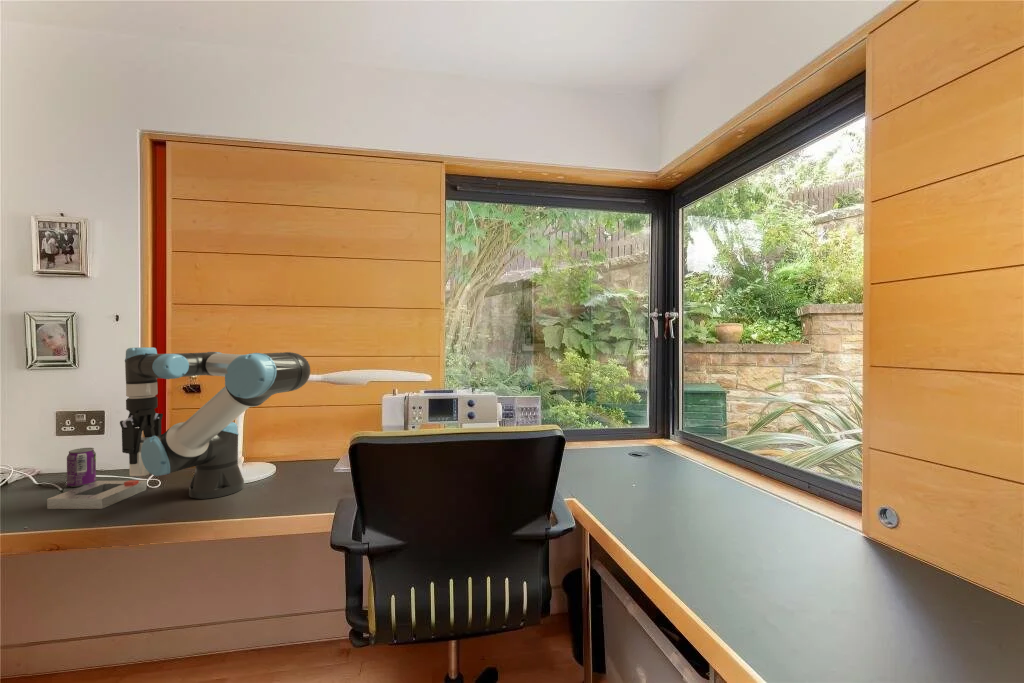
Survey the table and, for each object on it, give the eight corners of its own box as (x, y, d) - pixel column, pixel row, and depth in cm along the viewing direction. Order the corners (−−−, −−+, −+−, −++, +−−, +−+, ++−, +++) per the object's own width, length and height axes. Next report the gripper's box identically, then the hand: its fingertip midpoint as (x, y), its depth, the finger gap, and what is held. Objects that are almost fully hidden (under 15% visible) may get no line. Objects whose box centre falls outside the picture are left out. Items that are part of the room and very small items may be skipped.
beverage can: (101, 481, 153) (101, 447, 153) (82, 488, 146) (82, 452, 146) (80, 481, 153) (80, 447, 153) (60, 488, 146) (60, 452, 146)
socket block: (146, 489, 145) (146, 478, 145) (102, 508, 129) (102, 496, 129) (97, 489, 145) (97, 478, 145) (47, 508, 129) (47, 496, 129)
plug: (156, 471, 138) (155, 436, 138) (144, 475, 134) (143, 440, 134) (141, 471, 138) (141, 436, 138) (129, 476, 134) (129, 440, 134)
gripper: (152, 393, 144) (153, 463, 145) (103, 400, 127) (105, 480, 127) (175, 393, 145) (176, 463, 145) (130, 400, 127) (131, 480, 127)
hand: (143, 471), depth 136 cm, fingers closed on plug, 4 cm apart
